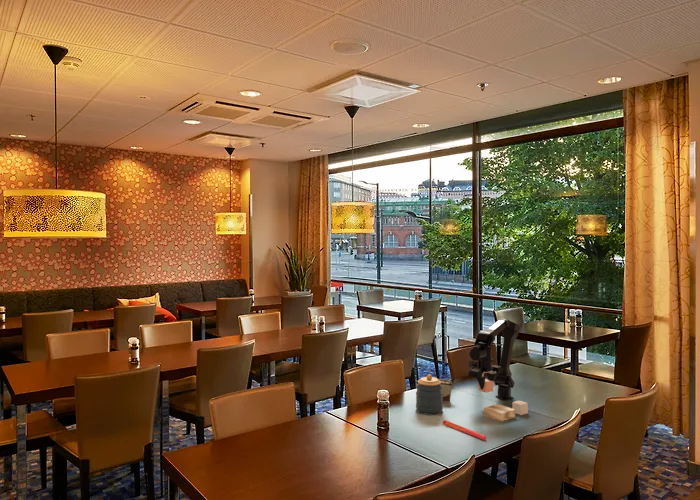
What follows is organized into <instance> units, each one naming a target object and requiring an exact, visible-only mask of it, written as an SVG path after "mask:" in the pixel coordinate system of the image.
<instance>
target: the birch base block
mask: <svg viewBox="0 0 700 500" xmlns="http://www.w3.org/2000/svg"><path fill="white" fill-rule="evenodd" d="M484 415H485V416H484ZM483 416H484V417H486V418H489V417H490V419H492V418H493V420H495V419H496V420H495V421H498V422H500V421H501V422H505V421H508V420H510V419H514V418H516V413H515V409H512V407H509V406H506V405H503V404H499V403H496V404H493V405H489V406H485V407H483ZM504 420H505V421H504Z"/></svg>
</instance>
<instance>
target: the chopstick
mask: <svg viewBox="0 0 700 500" xmlns="http://www.w3.org/2000/svg"><path fill="white" fill-rule="evenodd" d="M442 424H443V425H445V426H447V427H450V428H452V429H455V430H456V431H460V432H462V433H465V434H468V435H470V436H472V437H475V438H478V439H480V440H482V441H486V440H487V436H486V435H484V434H481V433H480V432H477V431H474V430H472V429H469V428H466V427H464V426H462V425H459V424H457V423H454V422H451V421H450V420H447V419H446V420H445V419H443V421H442Z"/></svg>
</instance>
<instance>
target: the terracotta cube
mask: <svg viewBox="0 0 700 500" xmlns="http://www.w3.org/2000/svg"><path fill="white" fill-rule="evenodd" d="M477 382H478V381H477ZM477 386H478V391H480V392H483V393H485V394H488V393H491V392H494V382H493V381H491V380H488V378H485V383H484V388H483V390H482V389H481V388H480V385H479V382H478V385H477Z"/></svg>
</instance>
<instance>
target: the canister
mask: <svg viewBox="0 0 700 500" xmlns="http://www.w3.org/2000/svg"><path fill="white" fill-rule="evenodd" d="M438 379H439V378H437V377H434V376H432V374H430V373H429V374H427V375H426V376H423V377H421V378H420V379H418V380H417V384H416V385H415V388H416V391H415V396H416V397H415V402H416V403H415V409H416V410H415V411H416V412H418V413H419V414H422V415H429V416H430V415H431V416H432V415H433V416H434V415H439V414H441V413H442V412H443V410H444V405H443V403H444V402H443V393H442V388H443V386H442V385H441V381H440V380H438Z"/></svg>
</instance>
